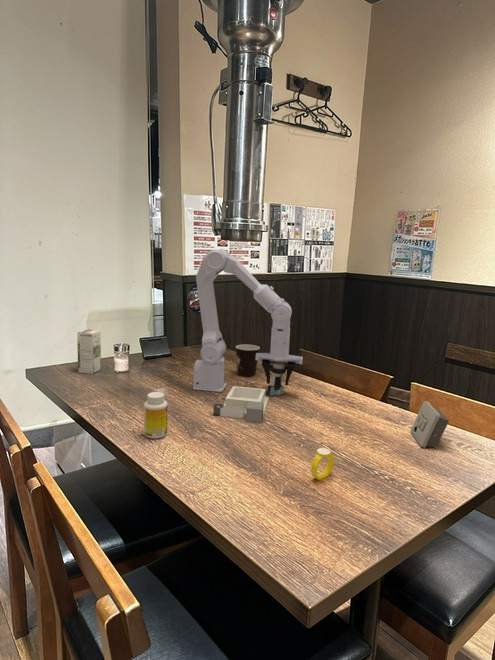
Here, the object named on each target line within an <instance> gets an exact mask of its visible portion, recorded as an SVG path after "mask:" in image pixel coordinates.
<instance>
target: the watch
mask: <svg viewBox="0 0 495 660" xmlns="http://www.w3.org/2000/svg"><path fill="white" fill-rule="evenodd" d="M323 458H327V464H326V466H325V468H324V470H323V472H321V473H319V474H318V468H319V465H320V462H321V461H322V459H323ZM334 464H335V456H334V454H333V453H332V452H331V450H330V449H328V448H325V447H319V448H318V449H317V450H316V454H315V456H314V458H313V460H312V462H311V467H310V473H311V476H312V477H313V478H314V479H316V480H318V481H321V480H324V479H326V478H328V477H329V476H330V475H331V473H332V471H333V468H334V466H335V465H334Z"/></svg>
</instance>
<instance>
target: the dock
mask: <svg viewBox="0 0 495 660" xmlns="http://www.w3.org/2000/svg"><path fill="white" fill-rule="evenodd" d="M266 392H267V390H266V389H265V388H260V387H259V388H255V387H248V386H247V387H246V386H237V385H233V386H232V388H231V389H230V391H229V392H228V393H227V395H226V397H225V400H224V401H225V402H224V404H223V405H225V406H234V407H244V408H245V414H244V415H245V422H249V423H256V424H257V423H258V424H261V423H262V418H263V416H264V414H265V411H266V408H267V405H268V402H269V399H270V398H269V396H266Z"/></svg>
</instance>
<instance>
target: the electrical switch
mask: <svg viewBox="0 0 495 660" xmlns="http://www.w3.org/2000/svg"><path fill="white" fill-rule="evenodd" d="M449 422H450V420H449V419H448V418H447V416H445V415H444V413H443V412H442V411H440V409H439V408H437V407H434V406H433V405H432V404H431V403H430V402H429V401H426V400H425V401H423V403H422V404H421V406H420V408H419V411H418V413H417V415H416V417H415V419H414V422H413V424H412V425H411V428H410V434H411V435H412V436H413V438H414V439H415V441H416V443H418V444H419V446H420V447H421V448H424V449H425V448H426V447H431V448H433V449H437V447H438V445H439V443H440V442H441V438H442V437H443V435H444V432H445V430H446V428H447V427H448V425H449Z"/></svg>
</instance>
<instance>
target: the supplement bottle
mask: <svg viewBox="0 0 495 660" xmlns="http://www.w3.org/2000/svg"><path fill="white" fill-rule="evenodd" d="M146 397H147V400H146V401H145V402H144V405H143V433H144V436H145V437H147V438H149V439H161V438H163V437H166V435H168V434H167V433H168V402H167V401H166V399H165V394H164V393H163V392H161V391H153V392H149V393H148V394H147V395H146Z"/></svg>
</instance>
